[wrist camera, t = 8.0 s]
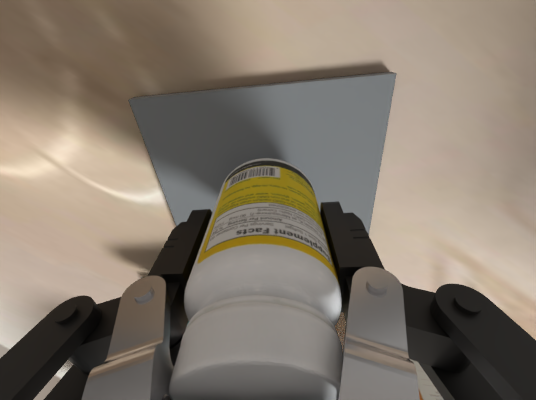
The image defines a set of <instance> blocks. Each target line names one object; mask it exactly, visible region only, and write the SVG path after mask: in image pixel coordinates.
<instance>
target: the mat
mask: <svg viewBox="0 0 536 400" xmlns="http://www.w3.org/2000/svg"><path fill="white" fill-rule="evenodd" d="M395 78H396V73H393V72H385V73H374V74H364V75H354V76H344V77H334V78H324V79H314V80H304V81H294V82H284V83H273V84H263V85H253V86H243V87H233V88H223V89H213V90H203V91H193V92H182V93H172V94H162V95H152V96H142V97H134V98H131V99H129V103H130V106H131V108H132V111H133V113H134V116H135V119H136V121H137V124H138V127H139V129H140V132H141V134H142V137H143V140H144V142H145V145H146V147H147V150H148V153H149V155H150V158H151V161H152V163H153V166H154V168H155V171H156V174H157V176H158V179H159V181H160V184H161V187H162V189H163V192H164V195H165V197H166V200H167V202H168V205H169V208H170V210H171V213H172V215H173V218H174V221H175V223H176V226H178V225H179V224H180V223H181V222H187V220H188V218H189V216H190V213H191V212H192V210H202V209H210V210H211V211H212V213H213V210H214V207H215V204H216V201H217V199H218V196H219V193H220V190H221V187H222V185H223V183H224V181H225V179H226V178H227V176H228V175H229V174H230V173H231V172H232V171H233V170H234V169H235V168H237V167H238V166H240V165H241V164H243V163H246V162H248V161H251V160H255V159H261V158H271V159H278V160H282V161H285V162H287V163H290V164H292V165H294V166H295V167H297V168H298V169H300V170H301V171H302V172H303V173H304V174H305V175H306V176H307V178H308V179H309V181H310V182H311V184H312V187H313V189H314V192H315V196H316V200H317V203H318V207H319V211H320V205H321V202H336V201H339V202H340V205H341V207H342V210H343V213H351V212H353V213H354V214H355V215H356V216H357V217H359V218H360V219H361V220H362V222H363V224H364V226H365V229H366V231H367V233H368V235H369V230H370V224H371V218H372V212H373V207H374V201H375V195H376V189H377V183H378V177H379V172H380V166H381V160H382V154H383V148H384V142H385V136H386V131H387V125H388V119H389V113H390V107H391V101H392V96H393V90H394V84H395Z"/></svg>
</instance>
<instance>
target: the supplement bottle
mask: <svg viewBox="0 0 536 400" xmlns="http://www.w3.org/2000/svg"><path fill="white" fill-rule="evenodd" d="M184 307H185V312H186V315H187V318H188V320H189V323H188V325H187V327H186V331H185V332H184V334H183V337H182V340H181V345H180V349H179V352H178V356H177V359H176V363H175V366H174V369H173V373H172V376H171V380H170V384H169V394H170V395H171V397H172V398H173V400H338V395H339V388H340V380H341V371H342V361H343V354H342V346H341V342H340V340H339V337H338V335H337V331H336V329H335V325H336V324H337V322H338V320H339V317H340V313H341V307H342V298H341V291H340V285H339V281H338V277H337V273H336V269H335V266H334V262H333V259H332V255H331V252H330V248H329V244H328V240H327V237H326V233H325V229H324V226H323V222H322V218H321V215H320V211H319V207H318V203H317V200H316V196H315V192H314V189H313V187H312V184H311V182H310V181H309V179H308V178H307V176H306V175H305V174H304V173H303V172H302V171H301V170H300V169H298V168H297V167H295V166H294V165H292V164H290V163H287V162H285V161H282V160H278V159H271V158H261V159H255V160H251V161H248V162H246V163H243V164H241V165H240V166H238V167H237V168H235V169H234V170H233V171H232V172H231V173H230V174H229V175H228V176H227V178H226V179H225V181H224V183H223V185H222V187H221V190H220V193H219V196H218V199H217V201H216V204H215V207H214V210H213V213H212V216H211V219H210V221H209V224H208V227H207V230H206V233H205V235H204V238H203V241H202V244H201V246H200V249H199V252H198V255H197V257H196V260H195V263H194V265H193V268H192V271H191V274H190V276H189V279H188V282H187V285H186V289H185V294H184Z"/></svg>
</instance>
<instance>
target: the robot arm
mask: <svg viewBox="0 0 536 400" xmlns="http://www.w3.org/2000/svg"><path fill="white" fill-rule="evenodd" d="M320 215H321V218H322V222H323V226H324V229H325V233H326V237H327V240H328V244H329V248H330V252H331V255H332V259H333V262H334V266H335V269H336V273H337V277H338V281H339V285H340V291H341V298H342V307H341V312H344V316H345V320H346V328H345V336H344V344H343V353H342V354H343V361H342V371H341V380H340V388H339V395H338V400H420V397H419V388H418V378H417V372H416V367H415V364H414V362H413V361H411V360H414V361H417V362H418V363H419V364H420V366H421V367H422V369H423V370H424V372H425V373H426V374H427V376H428V377H429V379H430V380H431V382H432V383H433V385H434V386H435V388H436V389H437V390H438V392H439V393H440V395H441V396H442V398H443V399H444V400H536V340H535V339H534V338H532V337H531V336H530V335H529V334H528V333H527V332H526V331H524V330H523V329H522V328H521V327H520V326H519V325H518V324H516V323H515V322H514V321H513V320H512V319H511V318H510V317H509V316H507V315H506V314H505V313H504V312H503V311H502V310H501V309H499V308H498V307H497V306H496V305H495V304H494V303H493V302H491V301H490V300H489V299H488V298H487V297H485V296H484V295H483V294H481V293H480V292H478V291H476V290H474V289H472V288H470V287H467V286H464V285H459V284H445V285H443V286H441V287H439V288H438V290H437V291H436V293H434V292H429V291H425V290H420V289H416V288H412V287H408V286H406V285H403V284H401V283H400V282H399V280H398V279H397V278H396V277H395V276H394V275H393V274H391V273H390V272H388V271H386V270H385V269H384V267H383V265H382V263H381V261H380V258H379V256H378V254H377V252H376V250H375V248H374V246H373V243H372V241H371V239H370V238H369V235H368V233H367V231H366V229H365V226H364V224H363V222H362V220H361V219H360V218H359V217H357V216H356V215H355V214H354V213H353V212H351V213H343V210H342V207H341V205H340V202H339V201H336V202H321V205H320ZM211 216H212V211H211V210H210V209H202V210H192V212H191V213H190V216H189V218H188V220H187V222H181V223H180V224H179V225H178V226H176V227H175V228H174V229H173V230H172V232H171V234H170V236H169V237H168V241H166V243H165V245H164V248H163V249H162V250H161V252H160V254H159V256H158V258H157V260H156V261H155V263H154V265H153V267H152V269H151V271H150V272H149V274H148V276H147V277H144V278H141V279H139V280H137V281H135V282H134V283H133V284H131V285H130V286H129V287H128V288H127V289H126V290H125V292H124V293H123V295H122V297H119V298H116V299H113V300H110V301H106V302H103V303H100V304H96V303H95V302H94V300H93V299H92V298H91V297H89V296H77V297H74V298H71V299H69V300H67V301H65V302H63V303H62V304H60V305H59V306H57V307H56V308H55V309H53V310H52V311H51V312H50V313H49V314H48V315H47V316H46V317H45V318H44V319H43V320H41V321H40V322H39V323H38V324H37V325H36V326H35V327H34V328H33V329H32V330H31V331H30V332H28V333H27V334H26V335H25V336H24V337H23V338H22V339H21V340H20V341H19V342H18V343H17V344H15V345H14V346H13V347H12V348H11V349H10V350H9V351H8V352H7V353H6V354H5V355H4V356H3V357H1V358H0V400H33V399H34V398H35V397H36V396H37V394H38V393H39V392H40V391H41V390H42V389H43V388H44V386H45V385H46V384H47V383H48V382H49V381H50V379H51V378H52V377H53V376H54V375H55V374H56V373H57V371H58V370H59V369H60V368H61V367H62V366H63V365H64V363H65V362H66V361H67V360H69V361H71V362H72V363H73V366H72V367H71V368H70V369H69V370H68V372H67V373H66V374H65V375H64V376H63V377H62V379H61V380H60V381H59V382H58V383H57V385H56V386H55V387H54V388H53V389H52V391H51V392H50V393H49V394H48V395H47V397H46V398H45V399H44V400H173V398H172V397H171V395H170V394H169V384H170V380H171V376H172V373H173V369H174V366H175V363H176V359H177V356H178V352H179V349H180V345H181V340H182V337H183V334H184V332H185V331H186V327H187V323H188V318H187V315H186V312H185V307H184V294H185V289H186V285H187V282H188V279H189V276H190V274H191V271H192V268H193V265H194V263H195V260H196V257H197V255H198V252H199V249H200V246H201V244H202V241H203V238H204V235H205V233H206V230H207V227H208V224H209V221H210V219H211ZM410 359H411V360H410Z"/></svg>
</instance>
